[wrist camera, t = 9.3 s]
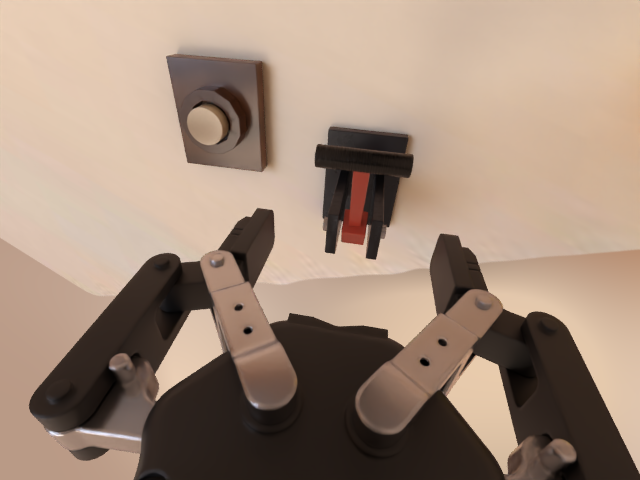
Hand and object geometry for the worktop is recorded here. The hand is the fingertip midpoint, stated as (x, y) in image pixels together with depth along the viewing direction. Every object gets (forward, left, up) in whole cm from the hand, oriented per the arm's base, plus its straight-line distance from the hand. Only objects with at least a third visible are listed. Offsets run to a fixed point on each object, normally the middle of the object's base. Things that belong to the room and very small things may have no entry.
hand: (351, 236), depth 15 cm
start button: (-7, -16, -21) cm, 28 cm away
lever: (+3, -2, -11) cm, 12 cm away
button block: (-7, -16, -25) cm, 30 cm away
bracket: (+7, -4, -25) cm, 26 cm away
